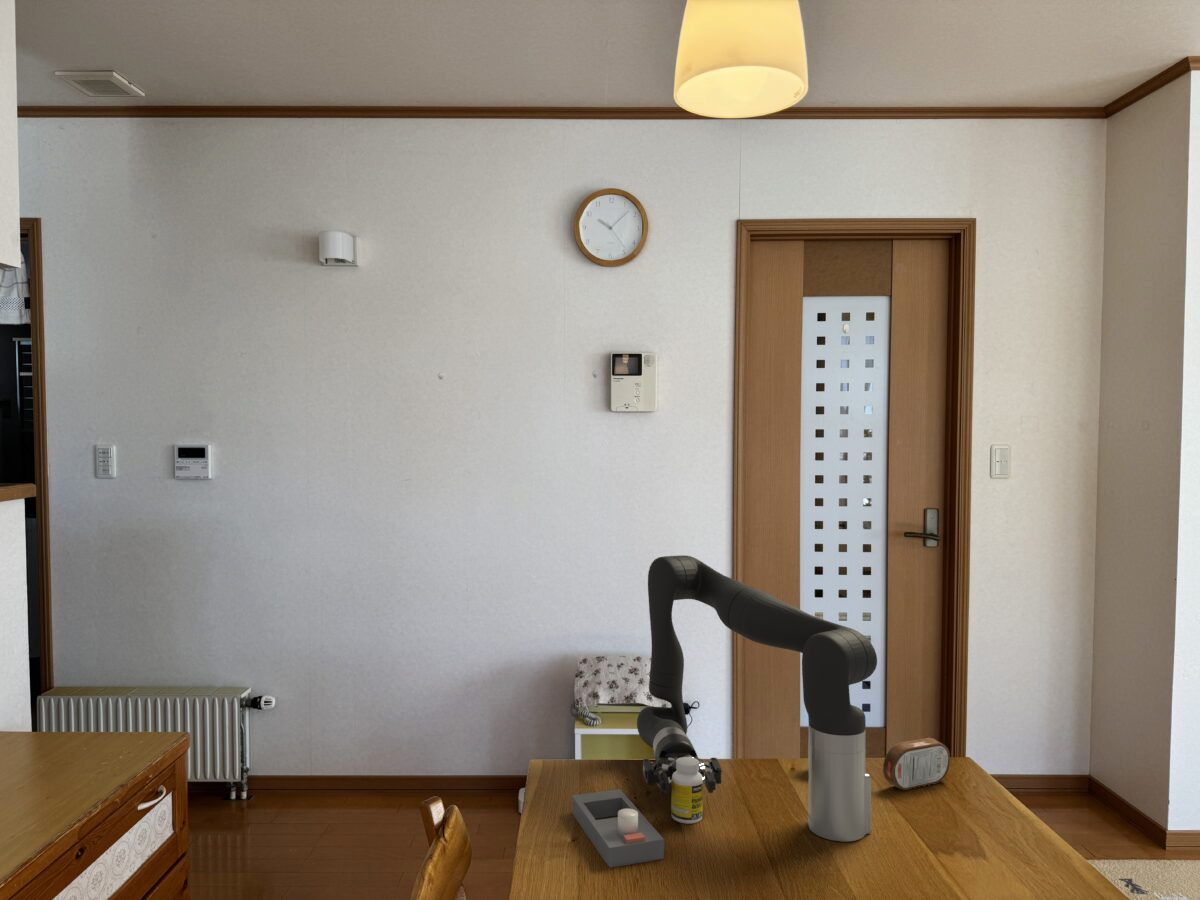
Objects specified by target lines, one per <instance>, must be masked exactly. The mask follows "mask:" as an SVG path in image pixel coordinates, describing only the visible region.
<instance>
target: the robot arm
mask: <svg viewBox="0 0 1200 900" xmlns="http://www.w3.org/2000/svg"><path fill="white" fill-rule="evenodd" d="M647 594H648V596H647V597H648V611H649V612H648V613H649V622H650V623H649V624H650V635H651V657H650V669H649V681H648V691H649V694H650V695H651V696H652V697H654V698H656V699H659V700H662V701H665V702H668V703H670V707H666V706H665V707H664V706H646V707H644V708H643V709H641V710H640V711H639V714H637V719H636V728H637V732H638V735H639V737H640V738H641V740H642V742H643V743H645V744H646V745H647V746H649V747H650V748H652V749H653V757H654V759H655V761H656V762H653V761H651V760H650V759H649V758H643V759H642V774H643V778H644V780H645V783H646V784H647V785H648V786H653V785H655V784H657V786H658V788H659V790H660V791H662V792H664V795H666V794H667V795H668V794H670V784H672V775H673V773H674V772H675V771H677V769H676V760H677V759H678V758H681V757H691V758H695V759H697V760H698V761H699V771H698V772H699V773H700V774H701V775H702V777H703V785H704V786H705V788H706V790H707V792H708V793H709V794H713V793H714V791H717V790H716V789H717V784H718V785H719V784H720V785H721V784H722V782H723V781H722V780H723V779H722V771H723V770H722V767H721V764H720V763H719V760H718V758H716V757H711V758H709V759H710V760H708V761H703V760H702V759H701V758H699V756H698V754H697V753H698V752H696V749H695V747H694V746H693V744H692V741H691V740H690V738H689V736H688V735H687V733H688V722H687V721H688V720H687V717H686V712H685V708H684V701H683V681H684V670H685V669H684V668H685V658H684V652H683V649H682V646H681V643H680V641H679V638H678V636H677V634H676V631H675V627H674V624H673V614H672V613H673V605H674V601H681V600H693V601H697V602H701V603H703V604H705V605H706V606H708V607H709V606H710V607H711V608H712V609H713V610H715V612H716V614H717V616H718V618H719V620H720V621H721V622H722V624H724V626H725V627H727V629H729V630H731V631H733V633H736V634H738V635H740V636H741V637H744V638H745V639H748V641H749V640H750V641H752V642H754V643H758V644H761V645H764V646H769V647H773V648H778V649H784V650H789V651H794V652H798V653H801V654H802V656H801V672H802V673H801V675H802V676H801V677H802V695H803V696H802V697H803V705H804V708H805V710H806V713H807V717H808V719H807V720H808V743H809V759H808V815H807V816H808V828H809V830H810V831H811V832H812V833H813V834H815V835H817V836H818V837H821V838H823V839H827V840H830V841H834V842H855V841H858V840H861V839H863V838H864V837H865V836H866V834H867V835H868V834H871V833H872V831H871V830H872V820H871V819H872V815H871V814H872V804H871V803H872V802H871V799H872V797H871V796H872V790H871V789H872V787H871V786H872V782H871V781H872V780H871V779H872V778H871V775H870V774H869V773H868V772H866V771H867V770H866V768H867V767H866V766H867V765H866V760H867V758H866V756H867V755H866V750H867V749H866V727H867V726H866V722H867V721H866V714H865V712H864V711H863V710H862V708H860V707H857V706H856V705H853V704H851V698H850V697H851V696H850V686H851V685H854V684H857V683H861V682H863V681H865V680H867V679H868V678H869V677H871V676H872V675H873V674H874V672H875V671H876V669H877V665H878V657H877V653H876V649H875V647H874V646H873V644H872V642H871V641H870V640H869V639H868V638H867V637H866V636H865V635H864V634H863V633H861V632H859V631H858V630H856V629H854V628H851V627H848V626H845V625H841V624H837V623H836V622H835V623H834V622H831V621H829V620H825V619H822V618H819V617H817V616H815V615H813V614H809V613H808V612H805V611H803V610H802V609H800V608H798V607H795V606H793V605H791V604H789V603H787V602H785V601H784V600H780V599H778V598H776V597H774V596H772V595H770V594H768V593H766V592H764V591H762V590H760V589H758V588H755V587H753V586H750V585H749V584H745V583H743V582H741V581H739V580H737V579H734V578H732V577H728V576H727V575H724V574H723V573H720V572H719V571H717V570H715V569H714V568H712V567H711V566H709V565H707V564H706V563H705V562H703V561H701V560H699V559H698V558H696V557H693V556H691V555H668V556H659V557H657V558H655V559H653V560H652V562H651V564H650V565H649V569H648V573H647ZM655 771H656V772H655Z"/></svg>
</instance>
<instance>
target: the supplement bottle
mask: <svg viewBox="0 0 1200 900" xmlns="http://www.w3.org/2000/svg"><path fill="white" fill-rule="evenodd" d="M676 769H677V771H675V772H674V773H673V775H672V782H671V801H670V802H671V803H670V804H671V805H670V807H671V809H670V810H671V811H670V812H671V813H670V814H671V818H672V819H673V820H674V821H676V822H678V823H681V824H686V825H687V824H697V823H699V822H700V821H702V819H703V809H704V808H703V807H704V806H703V802H704V796H703V795H704V793H703V792H704V791H703V790H704V783H703V777H702V775H701V774H700V773H699V772H698V771H699V761H698V760H697V759H695V758H691V757H681V758H678V759H677V760H676Z"/></svg>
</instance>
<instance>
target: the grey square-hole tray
mask: <svg viewBox="0 0 1200 900" xmlns="http://www.w3.org/2000/svg"><path fill="white" fill-rule="evenodd" d="M571 814H572V815H573V817H574V819H575V820H576V821H577V823H578V824H579V826H580V827H581V829H582V828H583V829H582V830H583V832H584V833H585V834H586V836H587V837H588V839H589V841H590V842H591V843H592V844H593V846H594V848H595V849H596V851H597V852H598V853H599V856H600V857H601V858H602V859H603V861H604V862H605V864H606V863H607V864H606V865H607V867H608V866H609V867H608V868H609V869H611V868H616V867H622V866H623V867H624V866H628V865H633V864H640V863H641V864H642V863H647V862H653V861H658V860H659V861H660V860H665V839H664V838H663V837H662V835H661V834H660V833H659V832H658V830H656V828H655V827H654V826H653V825H652V823H650V822H649V820H648V819H647V818H646V816H644V814H642V812H641V811H640V810H639V809H638V808H637V807H636V805H635V804H634V803H633V802H632V801H631V800H630V799H629V797H627V795H626V794H625V793H624V792H623V791H622V790H621V789H620V788H618V789H611V790H610V789H609V790H602V791H597V792H596V791H595V792H594V791H593V792H587V793H580V794H573V795H571ZM609 816H610V817H609Z"/></svg>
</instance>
